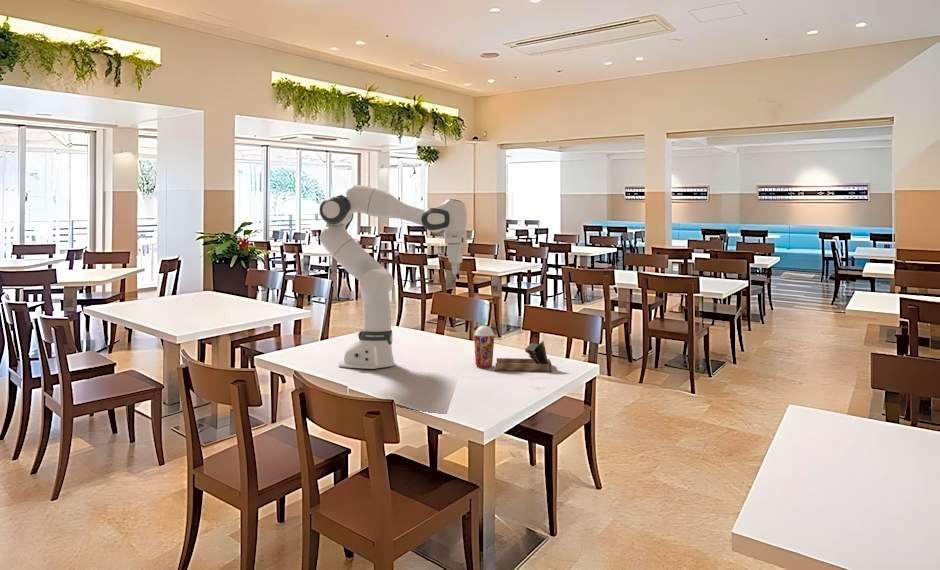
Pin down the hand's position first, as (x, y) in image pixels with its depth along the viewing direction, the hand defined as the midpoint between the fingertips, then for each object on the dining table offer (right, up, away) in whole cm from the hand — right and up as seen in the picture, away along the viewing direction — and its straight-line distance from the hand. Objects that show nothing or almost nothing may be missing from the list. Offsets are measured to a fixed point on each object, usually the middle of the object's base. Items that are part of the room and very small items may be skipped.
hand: (455, 274), depth 249 cm
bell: (+32, -39, +1) cm, 50 cm away
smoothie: (+11, -38, +3) cm, 40 cm away
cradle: (+27, -38, +1) cm, 47 cm away
